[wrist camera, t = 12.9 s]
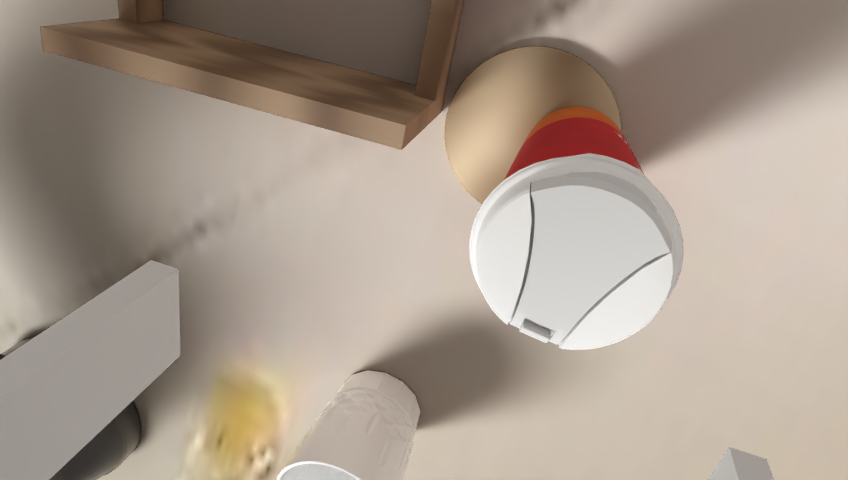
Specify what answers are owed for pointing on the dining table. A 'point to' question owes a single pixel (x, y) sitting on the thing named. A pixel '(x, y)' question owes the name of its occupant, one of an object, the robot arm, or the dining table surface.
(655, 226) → the paper cup
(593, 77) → the mat
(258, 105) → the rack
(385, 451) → the white cup
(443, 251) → the dining table surface
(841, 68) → the dining table surface
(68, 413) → the robot arm
